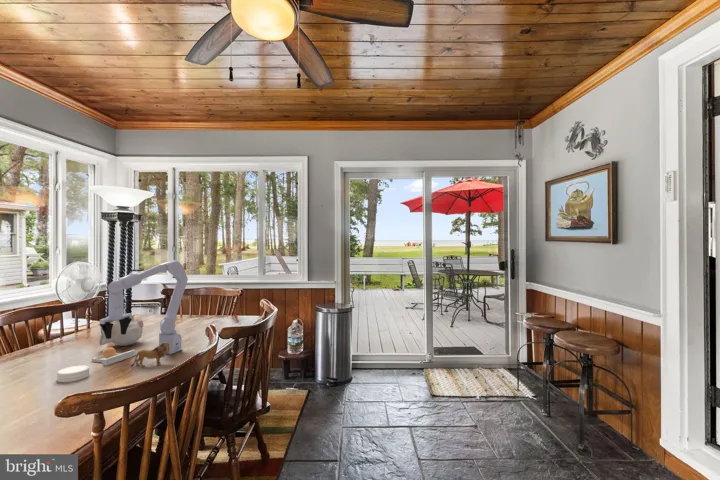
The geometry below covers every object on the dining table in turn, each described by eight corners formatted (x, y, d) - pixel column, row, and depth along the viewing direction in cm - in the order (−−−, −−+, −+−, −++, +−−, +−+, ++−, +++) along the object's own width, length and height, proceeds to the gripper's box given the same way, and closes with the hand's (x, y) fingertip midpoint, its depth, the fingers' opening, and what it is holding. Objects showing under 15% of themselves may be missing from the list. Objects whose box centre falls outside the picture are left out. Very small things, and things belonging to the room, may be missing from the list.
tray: (125, 357, 166) (125, 354, 166) (107, 363, 158) (107, 360, 158) (110, 355, 169) (110, 352, 169) (91, 361, 160) (91, 358, 160)
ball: (118, 357, 165) (118, 346, 165) (108, 360, 160) (108, 349, 160) (109, 356, 166) (110, 345, 166) (99, 359, 161) (99, 348, 162)
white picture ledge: (136, 355, 169) (136, 349, 169) (106, 365, 155) (106, 359, 155) (132, 354, 170) (132, 349, 170) (102, 365, 155) (102, 359, 155)
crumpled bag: (144, 345, 185) (144, 316, 185) (98, 351, 174) (99, 320, 174) (142, 338, 198) (142, 311, 198) (100, 344, 188) (100, 315, 188)
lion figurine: (169, 360, 162) (169, 340, 162) (169, 364, 157) (169, 343, 157) (131, 365, 155) (131, 344, 155) (129, 369, 150) (130, 348, 150)
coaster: (85, 371, 148) (85, 363, 148) (92, 377, 142) (92, 368, 142) (54, 378, 140) (54, 369, 140) (59, 385, 134) (60, 375, 134)
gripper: (123, 303, 174) (123, 331, 174) (94, 309, 160) (94, 339, 160) (135, 304, 172) (135, 332, 172) (106, 309, 158) (106, 341, 158)
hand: (116, 336), depth 166 cm, fingers open, 7 cm apart
